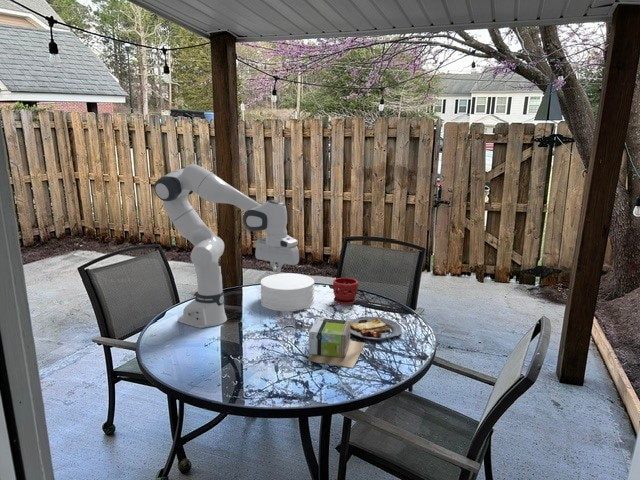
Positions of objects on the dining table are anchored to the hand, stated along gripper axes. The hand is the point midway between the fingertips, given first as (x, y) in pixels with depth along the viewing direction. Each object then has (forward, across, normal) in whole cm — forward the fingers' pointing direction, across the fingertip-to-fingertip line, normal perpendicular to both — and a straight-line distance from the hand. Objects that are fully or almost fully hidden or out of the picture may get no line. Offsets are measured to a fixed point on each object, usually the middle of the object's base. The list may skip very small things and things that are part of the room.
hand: (276, 272), depth 184 cm
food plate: (+29, +33, +28) cm, 52 cm away
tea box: (+24, +18, 0) cm, 30 cm away
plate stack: (+29, -21, +38) cm, 53 cm away
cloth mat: (+29, +29, +1) cm, 41 cm away
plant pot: (+29, +5, +54) cm, 61 cm away
